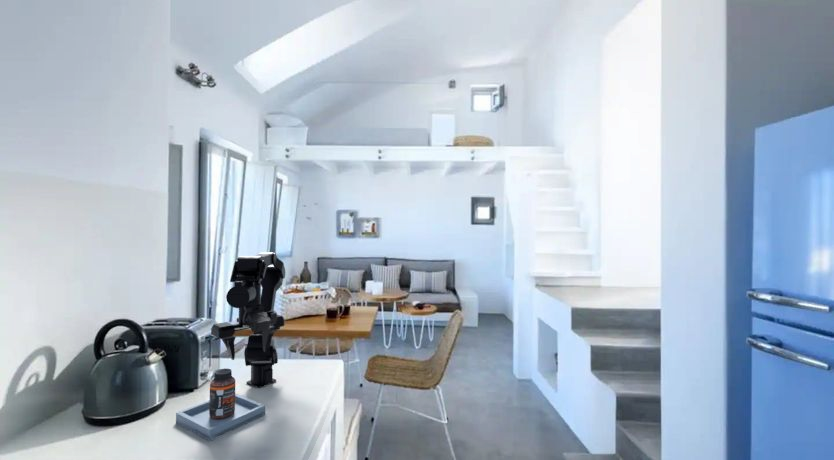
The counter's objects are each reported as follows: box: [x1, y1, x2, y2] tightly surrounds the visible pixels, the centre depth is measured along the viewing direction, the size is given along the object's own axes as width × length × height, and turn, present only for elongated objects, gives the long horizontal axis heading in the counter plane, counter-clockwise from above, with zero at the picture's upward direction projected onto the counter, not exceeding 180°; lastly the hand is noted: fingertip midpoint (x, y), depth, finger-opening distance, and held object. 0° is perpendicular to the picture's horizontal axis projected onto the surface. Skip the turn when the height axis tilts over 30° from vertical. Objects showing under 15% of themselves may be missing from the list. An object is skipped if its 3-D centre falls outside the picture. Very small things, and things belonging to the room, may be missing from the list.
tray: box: [175, 392, 266, 442], centre depth 102 cm, size 15×15×2 cm
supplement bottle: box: [209, 368, 236, 419], centre depth 102 cm, size 6×6×11 cm
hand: (249, 355), depth 111 cm, fingers open, 9 cm apart
